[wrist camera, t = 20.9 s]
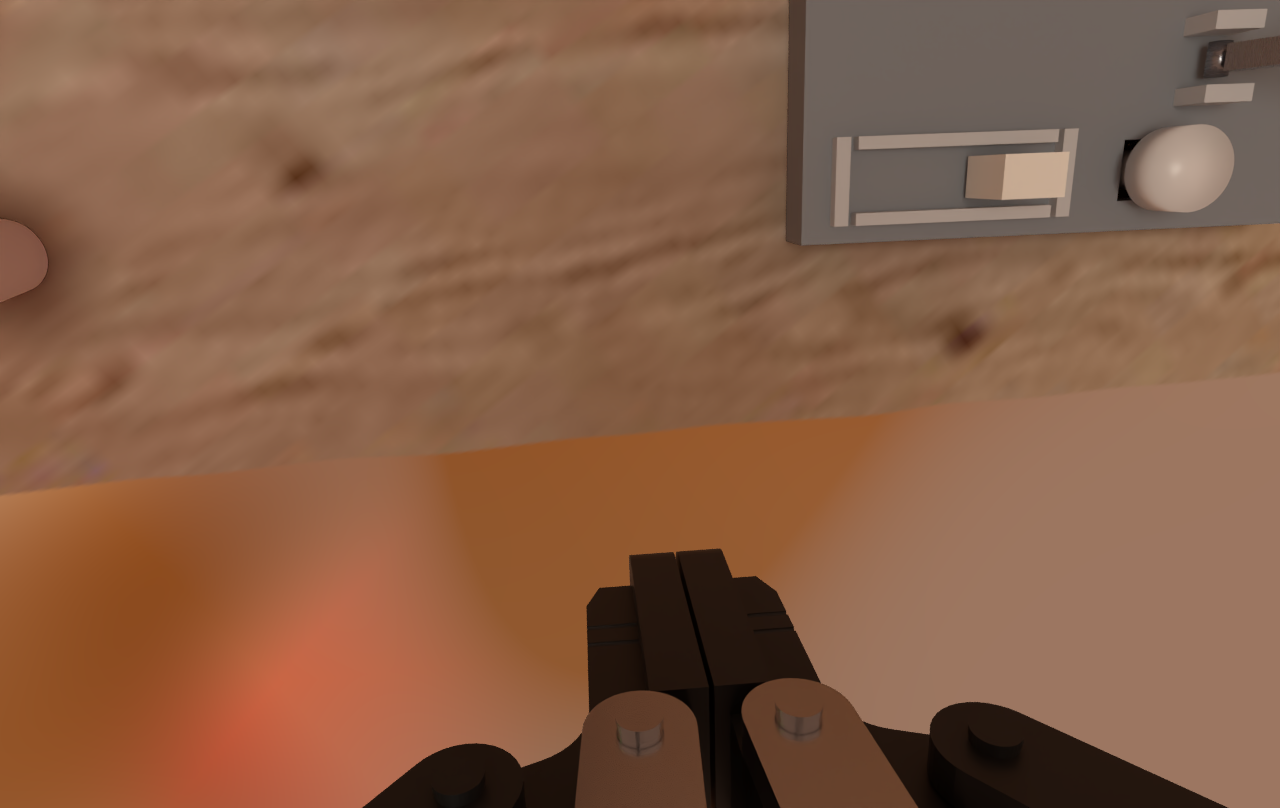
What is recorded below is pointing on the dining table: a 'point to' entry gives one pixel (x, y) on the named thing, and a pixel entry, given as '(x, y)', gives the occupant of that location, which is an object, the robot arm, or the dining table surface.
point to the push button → (1178, 168)
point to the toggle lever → (1241, 56)
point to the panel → (1013, 112)
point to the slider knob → (1017, 176)
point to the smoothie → (20, 259)
